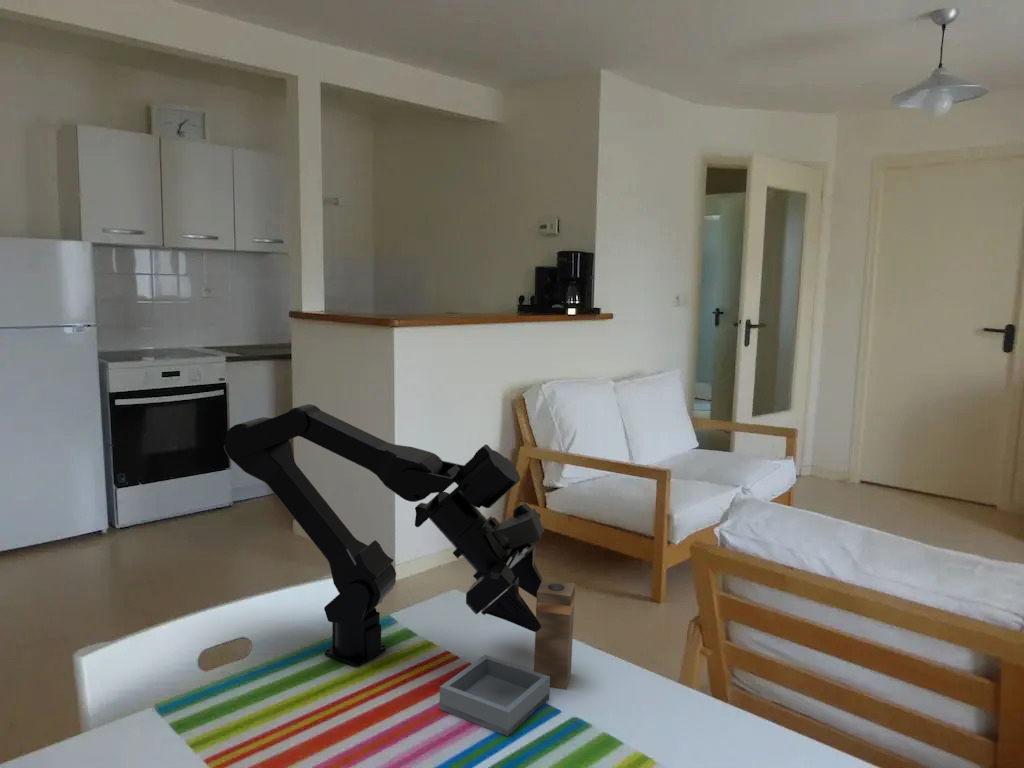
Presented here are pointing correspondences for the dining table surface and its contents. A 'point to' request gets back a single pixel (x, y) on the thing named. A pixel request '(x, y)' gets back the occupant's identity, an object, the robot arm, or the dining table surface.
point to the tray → (495, 694)
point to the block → (554, 631)
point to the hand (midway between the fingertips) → (544, 614)
